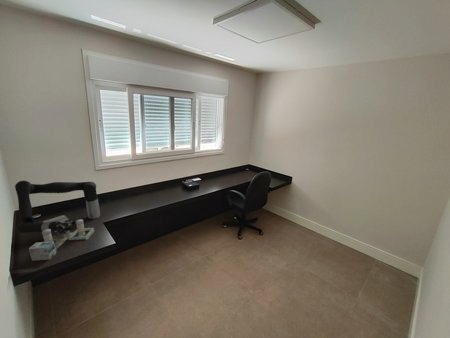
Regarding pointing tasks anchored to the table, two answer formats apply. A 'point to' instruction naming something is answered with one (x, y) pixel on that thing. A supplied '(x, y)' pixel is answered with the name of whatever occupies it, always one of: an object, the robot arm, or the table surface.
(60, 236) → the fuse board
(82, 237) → the tray
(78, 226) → the fuse marked
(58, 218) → the gadget
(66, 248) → the table surface
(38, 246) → the light bulb box
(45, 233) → the fuse
